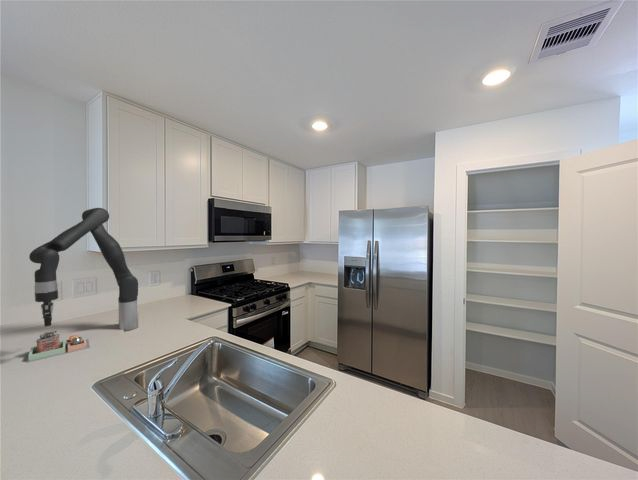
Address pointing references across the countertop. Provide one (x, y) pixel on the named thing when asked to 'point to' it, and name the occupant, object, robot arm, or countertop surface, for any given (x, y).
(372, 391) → the countertop surface
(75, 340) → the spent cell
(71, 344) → the divided organizer tray
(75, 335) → the button
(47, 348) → the lighter
